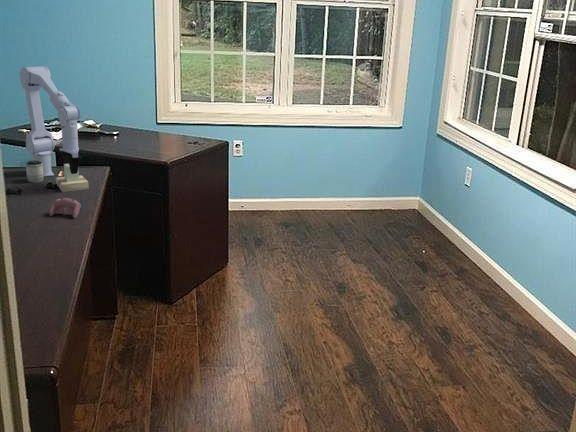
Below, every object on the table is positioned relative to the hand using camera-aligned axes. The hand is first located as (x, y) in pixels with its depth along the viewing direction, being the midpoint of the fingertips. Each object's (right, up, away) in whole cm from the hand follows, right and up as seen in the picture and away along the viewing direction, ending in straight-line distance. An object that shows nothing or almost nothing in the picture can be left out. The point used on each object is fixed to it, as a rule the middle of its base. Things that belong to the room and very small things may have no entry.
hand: (71, 170), depth 237 cm
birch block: (0, -6, +2) cm, 7 cm away
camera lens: (-17, -4, +7) cm, 19 cm away
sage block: (0, -3, +1) cm, 4 cm away
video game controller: (+7, -18, -27) cm, 33 cm away
